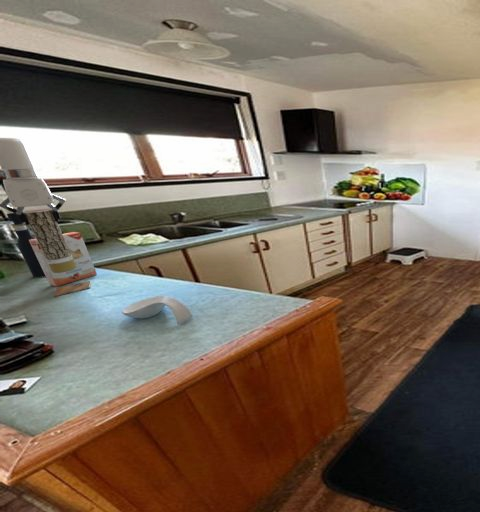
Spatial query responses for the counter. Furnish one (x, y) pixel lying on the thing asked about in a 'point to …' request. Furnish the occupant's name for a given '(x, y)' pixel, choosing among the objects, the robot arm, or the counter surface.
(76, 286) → the coaster
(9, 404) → the counter surface
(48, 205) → the robot arm
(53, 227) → the bark print canister
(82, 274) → the cracker box
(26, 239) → the wine bottle
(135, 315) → the spoon rest
